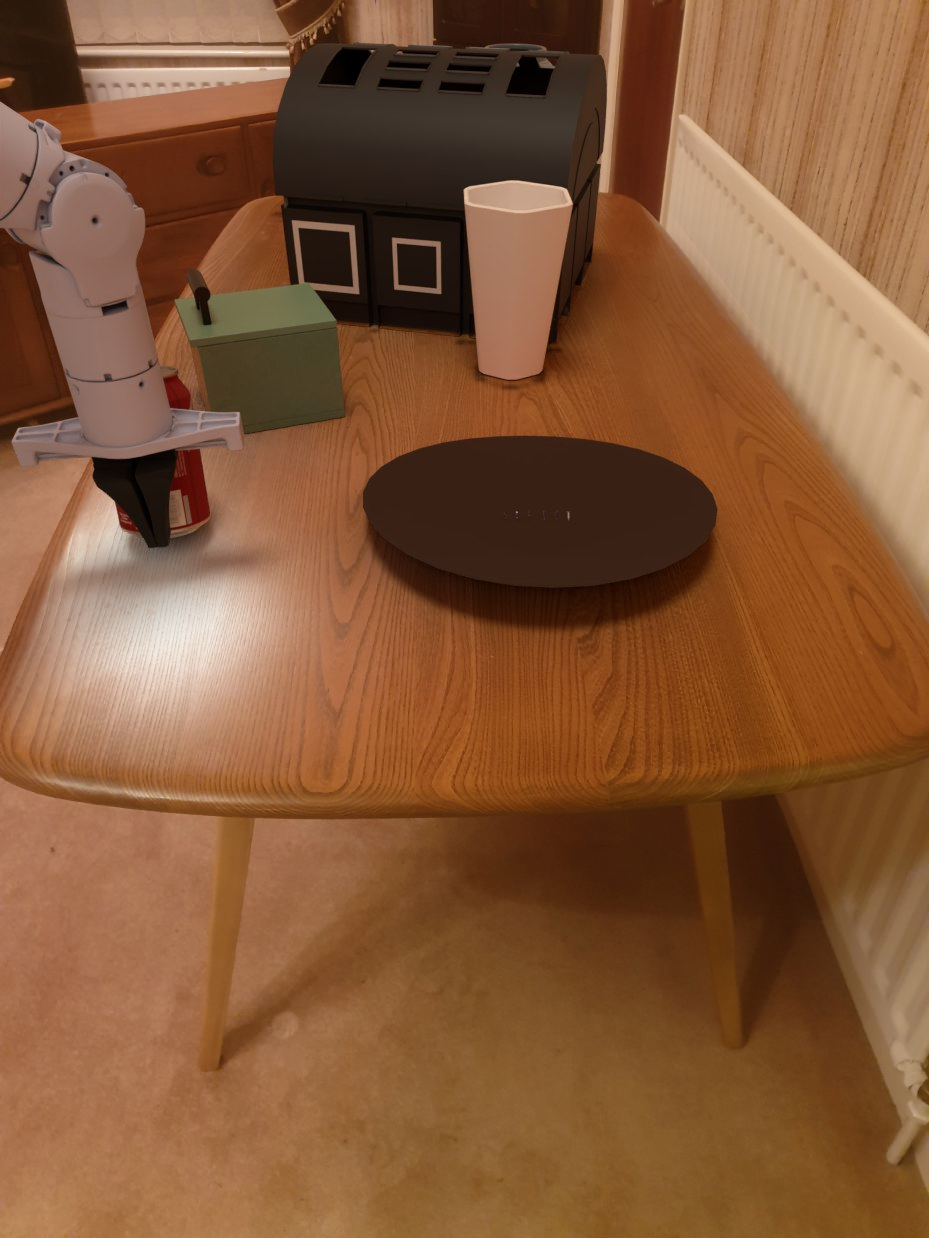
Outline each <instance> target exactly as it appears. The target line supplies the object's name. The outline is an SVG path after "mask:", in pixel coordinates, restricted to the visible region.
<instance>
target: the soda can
mask: <svg viewBox="0 0 929 1238" xmlns="http://www.w3.org/2000/svg"><path fill="white" fill-rule="evenodd" d="M160 368H161V372H162V376H163V381H164V385H165V389H166V393H167V398H168V402H169V406H170V408H174V409H185V410H194V405H193V398H192V393H191V390H189V388H188V387H187V386H186V384H185V383H184V382H183V381H182V380H181V379H180V378H179V369H178V368H177V367H176V366H172V365H161V364H160ZM114 504H115V509H116V513H117V518H118V523H119V528H120V529H121V530H122V531H123V532H124V533H127V534H130V535H133V536H135V537H137V538H139V539H143V537H142V536H141V534H140V532H139V531H138V529H137V528H136V526H135V525H134V523H133V522H132V521H131V519H130V518H129V517H128V516H127V514H126V513H125V512H124V511H123V510H122V509H121V507H120V506H119V505H118V504H117V503H116V502H115V501H114ZM211 515H212V514H211V508H210V502H209V496H208V491H207V484H206V477H205V472H204V466H203V460H202V453H201V449H191V450H179V452H178V458H177V463H176V469H175V474H174V478H173V481H172V485H171V489H170V499H169V521H170V530H171V535H170V539H175V538H180V537H183V536H187V535H189V534H192V533H194V532H195V531H198V530H199V529H200V527H201V526H203V525H204V524H206V523H207V522H208V521H209V520H210V518H211Z"/></svg>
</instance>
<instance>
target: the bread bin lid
mask: <svg viewBox="0 0 929 1238" xmlns="http://www.w3.org/2000/svg"><path fill="white" fill-rule="evenodd" d="M185 278H186V282H187V283H188V285H189V287H190V290H191V292H192V295H193V296H191V297H183V298H175V299H174V305H175V308H176V311H177V314H178V316H179V319H180V322H181V325H182V327H183V330H184V332H185V335H186V338H187V341H188V343H189V346H191V347H199V346H206V345H213V344H220V343H227V342H235V341H242V340H249V339H256V338H264V337H271V336H278V335H285V334H292V333H300V332H307V331H314V330H321V329H328V328H338V324H337V322H336V319H335V318H334V316H333V315H332V314H331V312H330V311H329V310H328V308H327V307H326V306H325V304H324V303H323V301H322V300H321V299H320V297H319V296H318V295H317V293H316V292H315V291H314V289H313V288H312V287H311V285H310V284H309V283H305V284H297V285H290V284H289V285H282V286H273V287H266V288H258V289H249V290H241V291H233V292H224V293H217V294H211V291H210V289H209V287H208V285H207V283H206V281H205V278H204V276H203V274H202V273H201V271H200V270H199V269H197V268H191V269H189V270H188V271H187V272H186V277H185ZM191 347H190V348H191Z"/></svg>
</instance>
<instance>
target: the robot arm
mask: <svg viewBox="0 0 929 1238" xmlns="http://www.w3.org/2000/svg"><path fill="white" fill-rule="evenodd" d="M62 135H63V134H62V132H61V130H60V129H58V128H57V127H56V126H54V125H52V124H51V123H50V122H49V121H48V122H47V121H46V120H43V119H40V118H37V119H35V120H34V122H31V121H30V120H29V119H27V118H26V117H24V116H23V115H21V114H20V113H18V112H17V111H16V110H13V109H12V108H11V107H9V105H8V106H7V105H6V104H5V103H3V102H2V101H0V229H4V230H5V231H6V232H7V233H8V235H9V236H10V237H11V238H12V239H13V240H14V241H15V242H16V243H19V244H23V245H24V244H25V245H28V246H29V247H31V248H33V249H35V250H37V251H38V252H37V251H35V250H29V251H28V255H29V259H30V262H31V265H32V268H33V269H32V270H33V272H34V275H35V278H36V281H37V285H38V289H39V291H40V297H41V302H42V304H43V307H44V311H45V314H46V318H47V320H48V325H49V327H50V330H51V333H52V337H53V340H54V343H55V347H56V349H57V352H58V356H59V359H60V362H61V365H62V369H63V372H64V373H63V374H64V377H65V380H66V382H67V385H68V389H69V392H70V395H71V398H72V401H73V404H74V408H75V411H76V414H77V417H73V418H68V419H64V420H58V421H54V422H50V423H44V424H39V425H32V426H24V427H23V426H21V427H18V428H17V429H16V431H15V433H14V435H13V438H12V440H11V445H12V448H13V451H14V453H15V456H16V459H17V461H18V464H19V467H20V468H29V467H30V468H31V467H36V466H38V465H39V463H40V462H43V461H44V462H46V461H47V462H48V461H58V460H70V459H71V460H73V459H84V458H91V460H92V463H93V464H92V467H93V471H92V474H91V477H92V480H93V482H94V484H95V486H96V487H97V488H98V489H99V490H100V491H102V492H103V493H104V494H105V495H107V496H108V497H109V498H110V499H111V500H112V501H113V502H114V503H115V502H116V503H117V504H118V505H119V506H120V507H121V509H122V510H123V511H124V512H125V513H126V514H127V516H128V517H129V518H130V519H131V521H132V522H133V523H134V525H135V526H136V528H137V529H138V531H139V532H140V534H141V536H142V537H143V538H142V540H143V541H144V542H145V544H146V547H147V549H159V548H167V547H169V546H170V540H171V538H170V535H171V530H170V521H169V499H170V489H171V485H172V481H173V478H174V474H175V469H176V463H177V458H178V452H179V450H191V449H200V450H203V449H216V448H217V449H218V448H226V450H227V451H229V452H236V451H237V452H238V451H243V450H244V449H245V434H244V432H243V426H242V421H241V415H240V412H229V413H222V412H207V411H206V410H194V409H193V410H185V409H174V408H170V406H169V402H168V398H167V393H166V389H165V385H164V381H163V376H162V372H161V368H160V365H161V363H160V360H159V356H158V351H157V346H156V342H155V337H154V334H153V330H152V326H151V320H150V317H149V313H148V308H147V304H146V303H147V302H146V299H145V295H144V292H143V287H142V284H141V280H140V276H139V271H138V268H137V259H138V255H139V252H140V250H141V247H142V245H143V242H144V239H145V233H146V232H145V231H146V216H145V215H146V214H145V210H144V208H142V207H139V206H138V205H137V204H136V202H135V201H134V197H133V194H132V193H131V192H128V191H127V188H128V186H127V184H126V183H125V182H124V180H123V179H122V178H121V177H120V176H119V175H118V174H117V173H116V172H114V170H112V169H110V168H109V167H107V166H106V165H103V164H101V163H99V162H97V161H94V160H91V159H88V158H85V157H83V156H81V155H77V154H75V153H72V152H69V151H67V150H64V149H63V146H62V144H61V143H60V141H61V139H62Z"/></svg>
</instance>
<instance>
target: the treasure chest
mask: <svg viewBox="0 0 929 1238" xmlns="http://www.w3.org/2000/svg"><path fill="white" fill-rule="evenodd" d="M537 58H547V59H557V60H556V63H555V65H552V66H541V65H540V64H539V61H538V59H537ZM517 63H518V64H517ZM607 88H608V81H607V69H606V63H605V60H604V57H603V56H602V54H588V53H587V54H585V53H570V52H569V50H567V51H559V50H558V51H557V50H547V51H538V50H528V52H518V51H510V49H504V48H485V47H480V46H479V47H477V46H466V47H465V48H454V46H453V45H451V46H450V45H433V44H432V45H431V44H407V46H399V45H396V44H394V43H373V42H371V43H370V42H358V41H356V42H353V43H352V44H351V43H331V42H330V43H329V42H327V43H316V44H315V45H313V46H312V47H310V48H309V49H307V50H305V51H304V53H303V54H302V55H301V56H300V58H299V59H298V61H296V63H295V64H294V66H293V68H292V70H291V72H290V75H289V77H288V78H287V81H286V82H285V85H284V89H283V92H282V95H281V97H280V101H279V104H278V106H277V107H278V108H277V111H276V112H277V113H276V117H275V123H274V127H273V141H272V172H273V173H272V174H273V185H274V194H275V197H276V196H277V197H282V198H283V203H282V204H280V210H281V218H282V226H283V234H284V235H283V236H284V243H285V249H286V250H285V251H286V260H287V268H288V275H289V285H297V284H305V283H309V284H310V285H311V287H312V288H313V289H314V291H315V292H316V293H317V295H318V296H319V297H320V299H321V300H322V301H323V303H324V304H325V306H326V307H327V308H328V310H329V311H330V312H331V314H332V315H333V316H334V318H335V319H336V322H337V325H338V324H339V325H347V326H348V325H349V326H357V327H366V328H371V326H372V325H378V329H384V330H394V331H395V330H396V331H404V332H412V333H423V334H431V335H432V334H433V335H441V336H449V337H451V336H452V337H461V336H462V335H463V334H467V335H468V338H470V339H476V331H475V320H474V308H473V296H472V285H471V273H470V262H469V250H468V238H467V227H466V215H465V204H464V189H465V188H467V187H469V186H476V185H483V184H490V183H497V182H503V181H524V182H531V183H538V184H545V185H551V186H558V187H563V188H565V189H567V190H568V193H569V195H570V198H571V200H572V203H573V206H572V212H571V217H570V223H569V228H568V234H567V239H566V244H565V250H564V255H563V261H562V266H561V272H560V277H559V282H558V288H557V293H556V299H555V304H554V310H553V315H552V320H551V326H550V331H549V337H548V342H547V345H549V344H557V343H558V340H559V339H560V336H561V334H562V332H563V330H564V327H565V325H566V323H567V320H568V317H569V314H570V313H571V311H572V309H573V306H574V304H575V301H576V299H577V297H578V294H579V292H580V290H581V287H582V284H583V283H584V281H585V278H586V277H587V274H588V271H589V269H590V267H591V265H592V260H593V249H594V240H595V231H596V230H595V229H596V219H597V210H598V198H599V191H600V179H601V169H602V163H598V161H599V159H600V158H601V156H602V154H603V153H604V148H605V147H604V146H605V136H606V135H605V134H606V124H607V106H608V89H607Z"/></svg>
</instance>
